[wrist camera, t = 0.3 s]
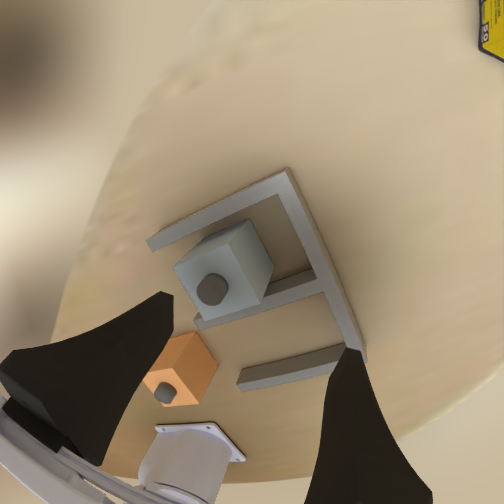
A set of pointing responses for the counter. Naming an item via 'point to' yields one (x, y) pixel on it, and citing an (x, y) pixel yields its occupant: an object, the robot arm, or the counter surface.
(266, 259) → the seated plug
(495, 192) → the counter surface
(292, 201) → the e-shaped shelf rack
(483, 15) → the supplement box
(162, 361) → the orange plug
